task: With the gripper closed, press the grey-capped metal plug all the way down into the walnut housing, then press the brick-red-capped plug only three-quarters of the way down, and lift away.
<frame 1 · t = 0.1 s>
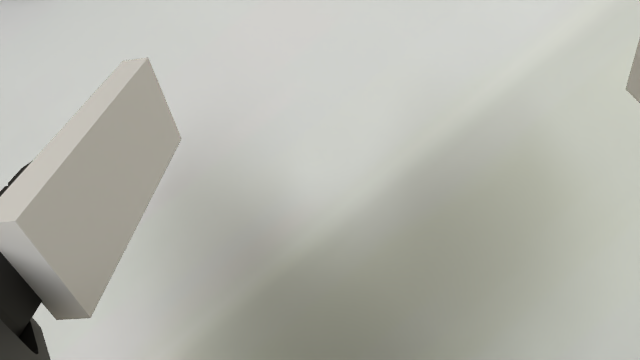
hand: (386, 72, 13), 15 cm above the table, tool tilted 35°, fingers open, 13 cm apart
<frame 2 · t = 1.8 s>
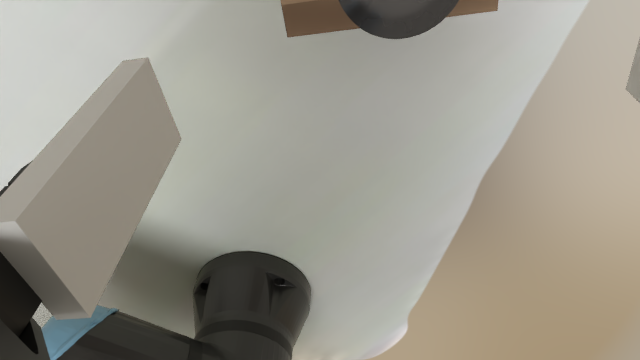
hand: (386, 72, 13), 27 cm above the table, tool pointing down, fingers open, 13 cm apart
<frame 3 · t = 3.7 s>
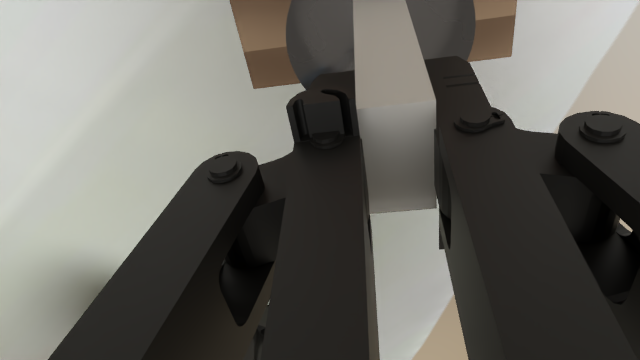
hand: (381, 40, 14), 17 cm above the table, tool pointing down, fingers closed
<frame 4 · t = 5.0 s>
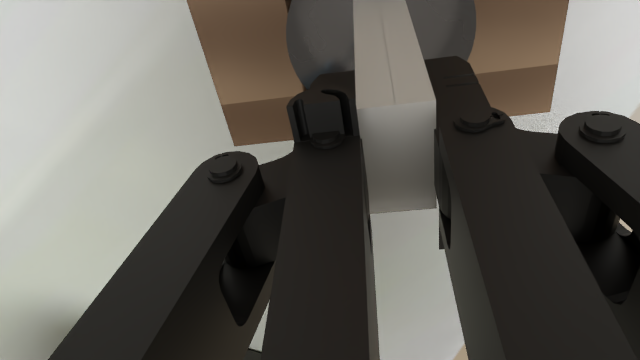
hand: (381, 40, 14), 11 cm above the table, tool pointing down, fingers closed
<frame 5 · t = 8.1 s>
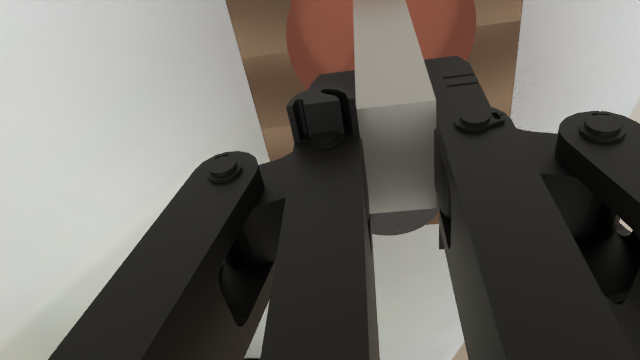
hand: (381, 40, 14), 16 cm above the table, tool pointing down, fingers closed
grey plug: (384, 145, 29), point 6 cm above the table, slide at 6.0 cm
plug housing: (372, 25, 31), on the table
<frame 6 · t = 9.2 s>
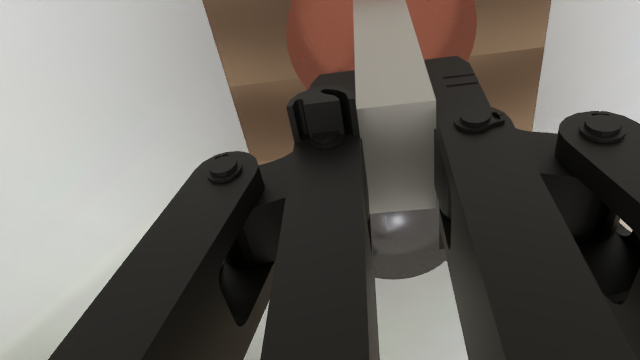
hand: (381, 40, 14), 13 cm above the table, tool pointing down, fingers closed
grey plug: (388, 177, 27), point 6 cm above the table, slide at 6.0 cm
plug housing: (375, 44, 28), on the table
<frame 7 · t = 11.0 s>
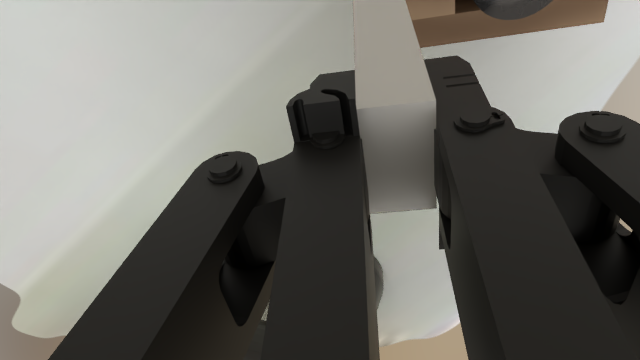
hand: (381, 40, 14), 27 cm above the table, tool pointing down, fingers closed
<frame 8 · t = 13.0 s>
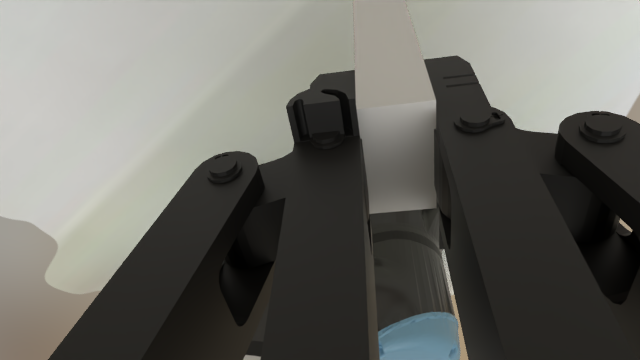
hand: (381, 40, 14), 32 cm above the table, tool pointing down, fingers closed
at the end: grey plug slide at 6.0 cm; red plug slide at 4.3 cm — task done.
